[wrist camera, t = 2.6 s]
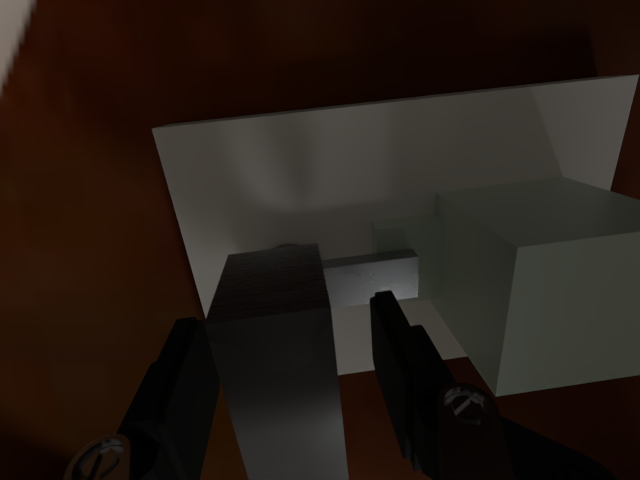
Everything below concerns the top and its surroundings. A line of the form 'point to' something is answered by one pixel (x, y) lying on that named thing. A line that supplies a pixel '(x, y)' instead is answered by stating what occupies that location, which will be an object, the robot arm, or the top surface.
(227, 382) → the t key
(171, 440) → the robot arm
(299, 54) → the top surface
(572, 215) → the grey stepped block
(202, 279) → the plate
